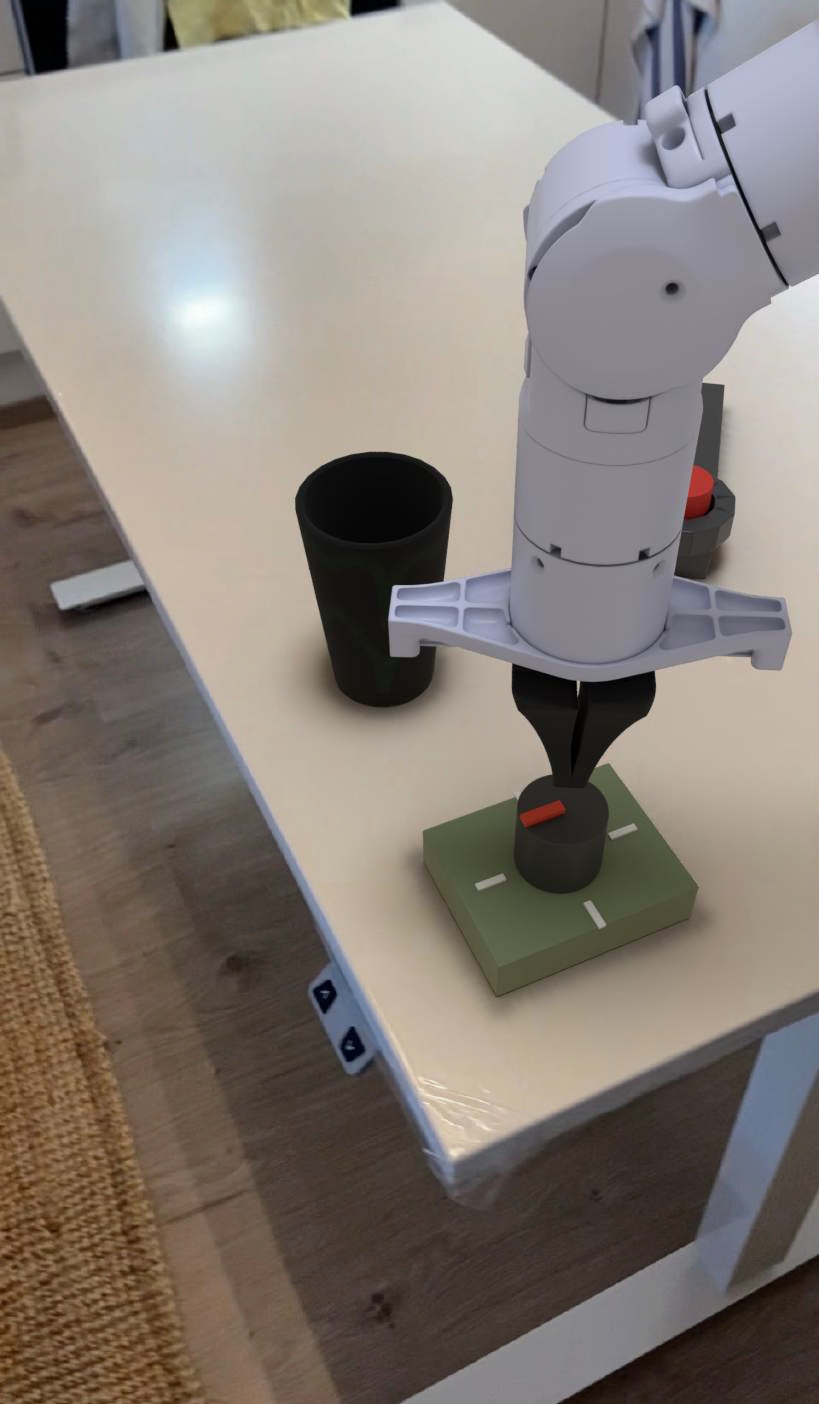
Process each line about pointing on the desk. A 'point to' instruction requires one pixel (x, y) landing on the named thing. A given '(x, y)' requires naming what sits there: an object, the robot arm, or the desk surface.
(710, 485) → the power button
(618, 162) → the robot arm
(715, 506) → the power block
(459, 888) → the panel
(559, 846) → the timer dial
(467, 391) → the desk surface
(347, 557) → the cup
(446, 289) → the desk surface
